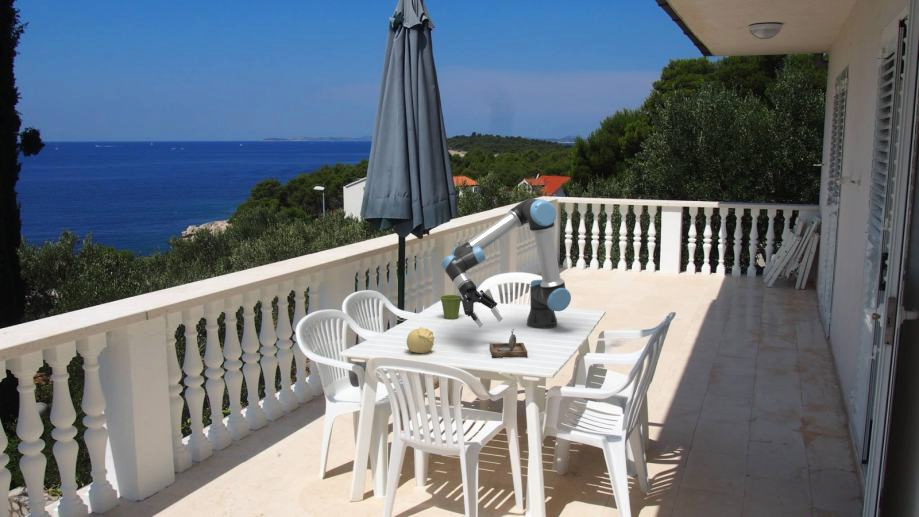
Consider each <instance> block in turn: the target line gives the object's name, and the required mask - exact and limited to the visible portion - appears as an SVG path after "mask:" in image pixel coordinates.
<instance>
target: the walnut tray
mask: <svg viewBox="0 0 919 517" xmlns="http://www.w3.org/2000/svg"><path fill="white" fill-rule="evenodd" d="M512 344H513V343H512ZM504 346H506V347H509V342H491V343H489V352H490V355H492V356H491V359H504V358H503V357H526V358H528V350H527V348H526V346H525V343H524V342H516V346H515V348H514V349H513V350H512V351H503V352H501V351H498V350H497V348H498V347H504Z"/></svg>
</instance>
